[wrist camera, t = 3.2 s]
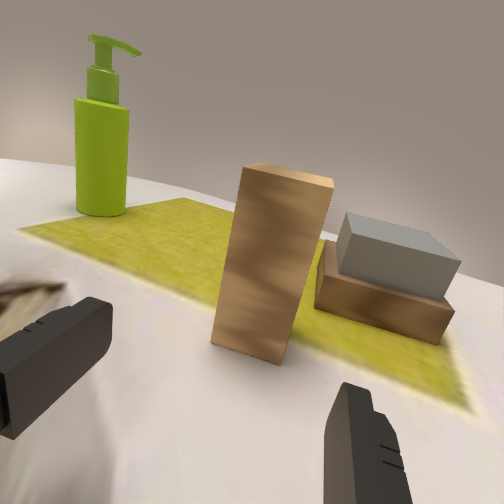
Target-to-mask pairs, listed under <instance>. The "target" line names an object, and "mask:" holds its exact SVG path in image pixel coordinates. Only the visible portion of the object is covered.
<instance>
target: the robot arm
mask: <svg viewBox="0 0 504 504" xmlns="http://www.w3.org/2000/svg"><path fill="white" fill-rule="evenodd" d="M112 318H113V307H112V304H111V303H108V302H105V301H102V300H99V299H96V298H93V297H86V298H84V299H83V300H81V301H80V302H78V303H76V304H75V305H73V306H72V307H71V306H67V307H64V308H61V309H58V310H54V311H51V312H50V313H48V314H46V315H45V316H43V317H41V318H39V319H38V320H36V322H35V323H31V324H29V325H28V326H26V327H24V328H23V330H22V331H21V330H19V331H18V332H16V333H14V334H13V335H11V336H9V337H8V338H6V339H4V340H3V341H1V342H0V435H2V436H5V437H7V438H9V439H12V440H15V439H16V438H17V437H18V436H19V435H20V434H21V433H22V432H23V431H24V430H25V429H26V428H27V427H28V426H30V425H31V424H32V423H33V422H34V421H35V420H36V419H37V418H38V417H39V416H40V415H41V414H42V413H43V412H44V411H46V410H47V409H48V408H49V407H50V406H51V405H52V404H53V403H54V402H55V401H56V400H57V399H58V398H59V397H61V396H62V395H63V394H64V393H65V392H66V391H67V390H68V389H69V388H70V387H71V386H72V385H73V384H74V383H76V382H77V381H78V380H79V379H80V378H81V377H82V376H83V375H84V374H85V373H86V372H87V371H88V370H89V369H90V368H92V367H93V366H94V365H95V364H96V363H97V362H98V361H99V360H100V359H101V358H102V357H103V356H104V355H105V354H106V352H107V351H108V349H109V347H110V344H111V340H112ZM324 504H413V503H412V498H411V494H410V490H409V486H408V482H407V478H406V473H405V472H404V465H403V461H402V457H401V455H400V448H399V444H398V440H397V436H396V432H395V431H394V429H393V428H392V426H391V424H390V423H389V421H388V419H387V418H386V416H385V415H384V414H381V413H379V412H376V411H374V409H373V404H372V398H371V393H370V391H369V390H367V389H364V388H361V387H358V386H355V385H352V384H349V383H346V382H343V383H342V385H341V387H340V390H339V392H338V394H337V397H336V399H335V402H334V404H333V406H332V409H331V411H330V414H329V416H328V419H327V423H326V427H325V434H324Z"/></svg>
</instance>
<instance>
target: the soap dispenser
mask: <svg viewBox="0 0 504 504" xmlns="http://www.w3.org/2000/svg"><path fill="white" fill-rule="evenodd" d="M88 41H90V42H93V43H95V66H94V65H92V66H91V67H87V99H84V98H80V99H74V106H75V153H76V156H75V157H76V208H77V210H78V211H79V212H81V213H84V214H87V215H92V216H100V217H112V216H119V215H122V214H124V213H125V201H126V178H127V154H128V132H129V110H128V109H125V108H124V107H122V106H119V105H118V102H119V75H117V74H115V71H113V70H112V69H111V68H112V67H111V66H112V65H111V64H112V47H113V48H116V49H119V50H122V51H124V52H126V53H128V54H130V55H132V56H134V57H136V56H140V55H141V54H142V53H141V52H140V51H138V50H137V49H135V48H133V47H132V46H130V45H128V44H126V43H124V42H121V41H118V40H116V39H112V38H108V37H105V36H100V35H96V34H90V35H88Z"/></svg>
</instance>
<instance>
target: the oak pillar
mask: <svg viewBox="0 0 504 504" xmlns="http://www.w3.org/2000/svg"><path fill="white" fill-rule="evenodd" d="M333 190H334V185H333V179H330V178H326V177H322V176H318V175H313V174H309V173H305V172H300V171H296V170H292V169H288V168H284V167H279V166H275V165H271V164H266V163H262V162H261V163H257V164H253V165H248V166H244V167H243V169H242V175H241V180H240V185H239V191H238V196H237V202H236V207H235V212H234V218H233V223H232V228H231V234H230V239H229V245H228V250H227V255H226V261H225V266H224V272H223V277H222V282H221V288H220V293H219V299H218V304H217V309H216V315H215V320H214V326H213V331H212V336H211V343H214V344H217V345H220V346H223V347H226V348H229V349H232V350H235V351H238V352H241V353H244V354H247V355H249V356H252V357H255V358H258V359H261V360H264V361H267V362H270V363H273V364H276V365H279V366H280V365H281V361H282V358H283V355H284V352H285V348H286V345H287V342H288V338H289V335H290V332H291V329H292V325H293V322H294V319H295V315H296V312H297V309H298V306H299V302H300V299H301V296H302V292H303V289H304V286H305V283H306V279H307V276H308V273H309V270H310V266H311V263H312V260H313V256H314V253H315V250H316V247H317V243H318V240H319V237H320V233H321V230H322V227H323V224H324V220H325V217H326V214H327V210H328V207H329V204H330V201H331V197H332V194H333Z"/></svg>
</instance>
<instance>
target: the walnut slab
mask: <svg viewBox="0 0 504 504" xmlns="http://www.w3.org/2000/svg"><path fill="white" fill-rule="evenodd" d="M314 308H315V309H318V310H322V311H325V312H328V313H332V314H335V315H338V316H341V317H345V318H348V319H351V320H355V321H358V322H361V323H365V324H368V325H371V326H375V327H378V328H381V329H385V330H388V331H391V332H395V333H398V334H401V335H405V336H408V337H411V338H415V339H418V340H421V341H424V342H428V343H431V344H434V345H437V344H438V343H439V341H440V339H441V337H442V335H443V333H444V331H445V330H446V328H447V326H448V324H449V322H450V320H451V318H452V317H453V315H454V313H455V311H454V309H453V308H452V307H451V305H450V304H449V303H448V301H447V300H446V299H445V298H444V297H443V299H442V301H441V302H438V301H434V300H431V299H427V298H424V297H420V296H416V295H413V294H409V293H406V292H402V291H399V290H395V289H391V288H388V287H384V286H381V285H377V284H374V283H370V282H366V281H363V280H359V279H356V278H352V277H349V276H345V275H341V274H338V265H337V252H336V242H334V241H330V240H325V243H324V247H323V250H322V253H321V256H320V259H319V263H318V267H317V279H316V290H315V302H314Z"/></svg>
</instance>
